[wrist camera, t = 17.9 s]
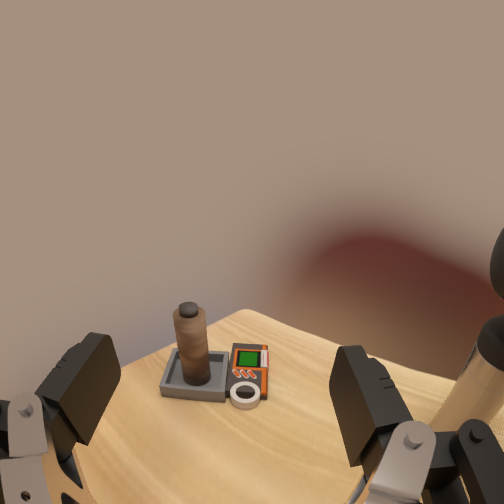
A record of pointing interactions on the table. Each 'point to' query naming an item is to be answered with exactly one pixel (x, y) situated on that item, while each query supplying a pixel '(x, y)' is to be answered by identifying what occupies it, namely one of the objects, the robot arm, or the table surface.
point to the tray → (210, 391)
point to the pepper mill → (192, 343)
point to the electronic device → (247, 375)
